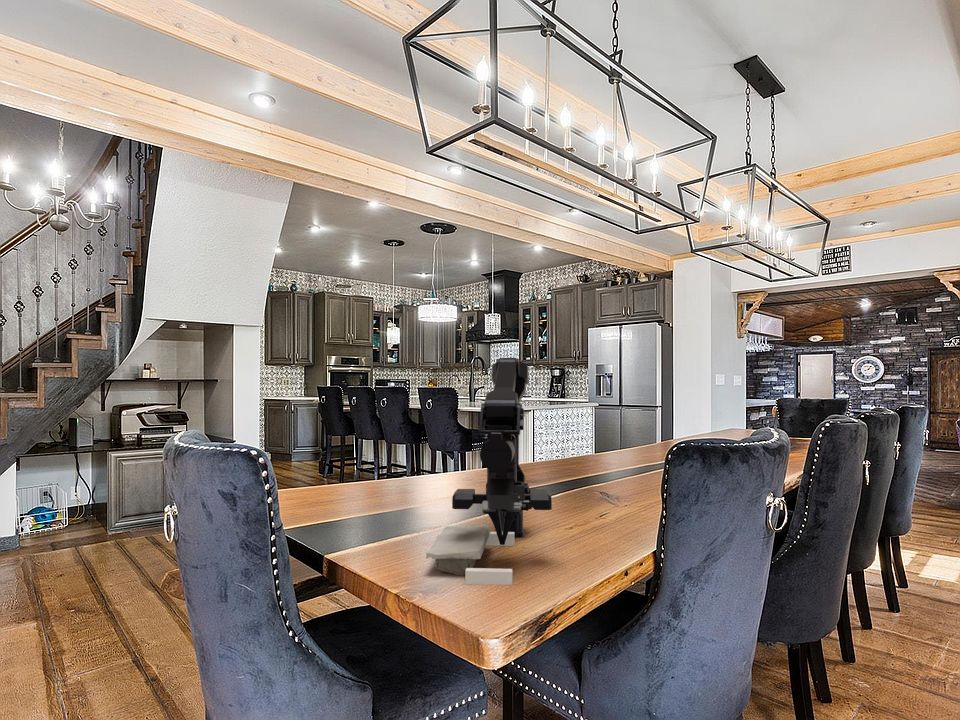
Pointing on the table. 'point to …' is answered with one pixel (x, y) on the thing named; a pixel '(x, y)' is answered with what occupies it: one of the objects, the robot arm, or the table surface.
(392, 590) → the table surface
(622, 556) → the table surface
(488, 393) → the robot arm
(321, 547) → the table surface
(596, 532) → the table surface
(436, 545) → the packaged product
